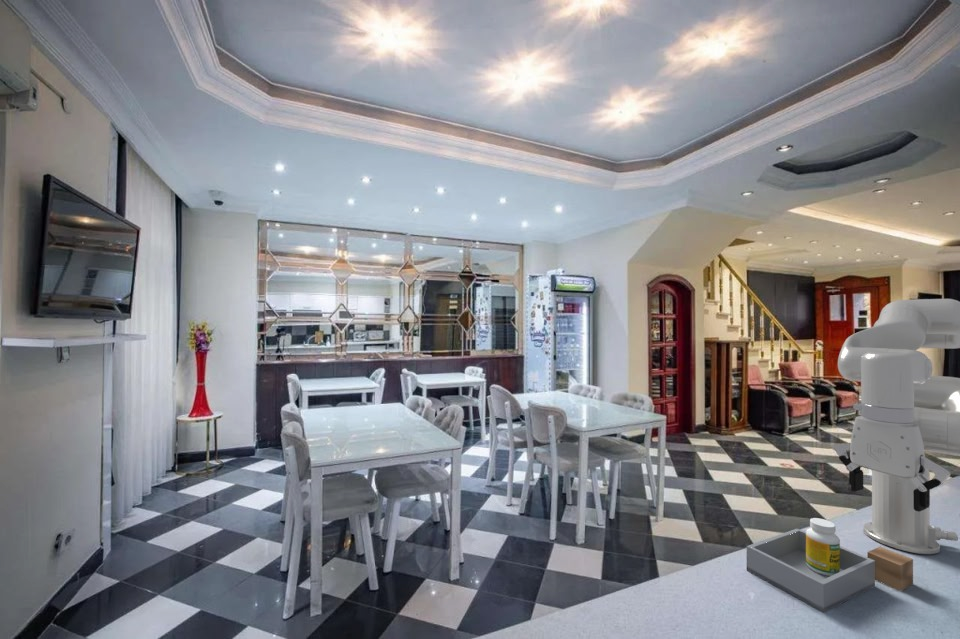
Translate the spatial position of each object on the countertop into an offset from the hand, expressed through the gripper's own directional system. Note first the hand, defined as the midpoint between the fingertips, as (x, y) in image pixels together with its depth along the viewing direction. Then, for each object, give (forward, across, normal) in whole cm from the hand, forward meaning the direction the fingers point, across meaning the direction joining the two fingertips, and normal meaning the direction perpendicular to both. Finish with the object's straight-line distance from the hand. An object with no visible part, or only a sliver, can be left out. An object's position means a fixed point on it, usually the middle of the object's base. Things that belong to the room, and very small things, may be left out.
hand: (887, 499), depth 83 cm
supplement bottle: (+15, -6, -10) cm, 19 cm away
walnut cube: (+16, 0, 0) cm, 16 cm away
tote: (+16, -6, -14) cm, 22 cm away
